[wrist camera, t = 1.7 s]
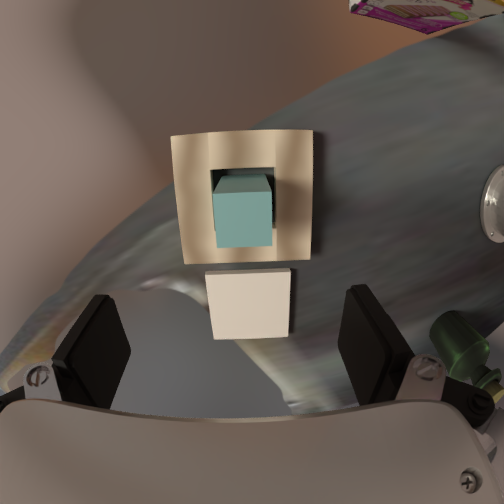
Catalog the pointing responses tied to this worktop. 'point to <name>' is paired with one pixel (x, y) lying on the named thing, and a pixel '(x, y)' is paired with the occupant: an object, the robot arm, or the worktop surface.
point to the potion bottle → (465, 353)
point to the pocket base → (244, 156)
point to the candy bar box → (427, 12)
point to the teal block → (243, 211)
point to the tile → (249, 303)
